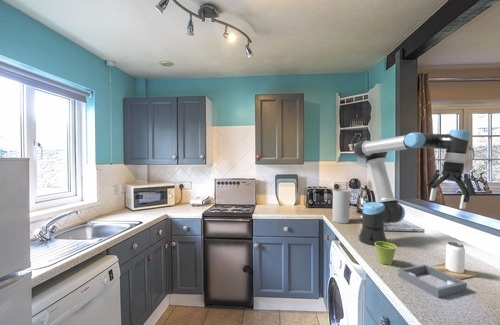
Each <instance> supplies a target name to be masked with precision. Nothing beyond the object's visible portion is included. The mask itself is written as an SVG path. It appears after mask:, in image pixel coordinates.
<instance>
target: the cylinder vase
mask: <svg viewBox="0 0 500 325" xmlns="http://www.w3.org/2000/svg"><path fill="white" fill-rule="evenodd" d="M350 195H351V191H350V190H348V189H343V188H337V189H336V188H335V189H332V211H331V212H332V215H331V216H332V217H331V220H332V222H334V223H335V224H348V223H350V204H351V203H350V200H351V196H350Z"/></svg>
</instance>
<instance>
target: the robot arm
mask: <svg viewBox="0 0 500 325" xmlns="http://www.w3.org/2000/svg"><path fill="white" fill-rule="evenodd" d="M470 134H471V133H470V131H469V130H466V129H451V130H449V132H448V133H446V134H445V133H428V132H427V133H423V132H417V131H414V132H410V133H408V134H405V135H399V136H394V137H389V138H384V139H378V140H371V141H370V140H360V141H358V142H357V143H356V144H354V147H353V153H354V155H355V156H356V157H357V158H359V159H365V161H366V163H367V164H369V166H370V167H369V168H370V169H371V174H372V178H373V182H374V186H375V190H376V193H377V194H376V195H377V199H378V200H377V202H376V201H369V202H366V203H365V202H364V204H363V206H362V225H361V226H362V227H361V230H360V233H359V234H358V240H359V242H361V243H363V244H366V245H369V246H370V245H371V246H374V247H376V245H375V242H378V241H381V242H388V239H387V237H386V233H385V225H386V224H396V223H399V222H402V220H403V219H404V218H405V215H406V212H405V208H404V207H403V205H401V204H400V203H399V201H398V199H397V198H395V196H394V192H393V191H392V186H391V185H392V184H391V182H390V178H389V175H388V172H387V167H386V164H385V161H386V160H387V155H388V153H389V152H395V151H403V150H411V149H412V150H413V149H437V150H438V149H439V150H440V149H441V150H445V154H444V162H443V165H442V168H443V169H442V170H441V169H435V171H434V174H433V175H432V176H431V177H430V179H429V180H428V181H427V183H426V186H427V187H429V201H432V202H435V200H436V196H437V187H438V186H439V185H440V184H442V183H443V182H445V181H451V182H454V183H456V184H457V186H458V188H459V189H460V190H461V192H462V193H463V194H462V195H461V197H460V203H459V209H461V210H465V209H466V205H467V203H469V202H470V198H471V196H476V195H477V193H476V190H475V188H474V185H473V183H472V180H471V174H470V173H463V171H464V168H465V162H466V156H467V151H468V147H469V141H470ZM462 178H463V179H462Z"/></svg>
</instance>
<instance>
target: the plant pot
mask: <svg viewBox="0 0 500 325" xmlns="http://www.w3.org/2000/svg"><path fill="white" fill-rule="evenodd" d="M375 245H376V246H375V249H376V253H377V254H376V255H377V261H378V263H380V264H381V265H388V266H389V265H392V264H393V262H394V257H395V253H396V249H397V247H398V246H397V245H396V244H394V243H391V242H389V241H387V242H381V241H378V242H375Z"/></svg>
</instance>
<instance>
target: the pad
mask: <svg viewBox="0 0 500 325" xmlns="http://www.w3.org/2000/svg"><path fill="white" fill-rule="evenodd" d="M430 267H432V268H434V269H436V270H438V271H441V272H443V273H445V274H448V275H450V276H452V277H454V278H457V279H459V280H461V281H464V280H466V279H471V278H474V277H476V278H477V277H479V276H480V275H479V274H478V273H475V272H472V271H470V270H467V269H465V268H464V273H461V274H460V273H454V272H451V271H449V270H447V269H446V268H445V263H439V264H435V265H434V264H433V265H430Z"/></svg>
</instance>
